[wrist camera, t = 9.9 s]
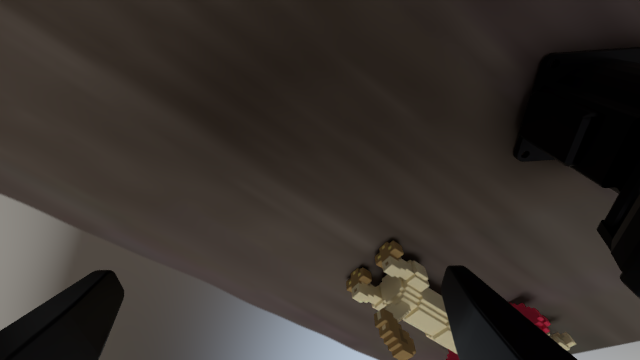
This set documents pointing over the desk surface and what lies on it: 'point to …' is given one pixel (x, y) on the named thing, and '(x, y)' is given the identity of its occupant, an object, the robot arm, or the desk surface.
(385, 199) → the desk surface
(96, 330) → the robot arm
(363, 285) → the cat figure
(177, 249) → the desk surface
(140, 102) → the desk surface
